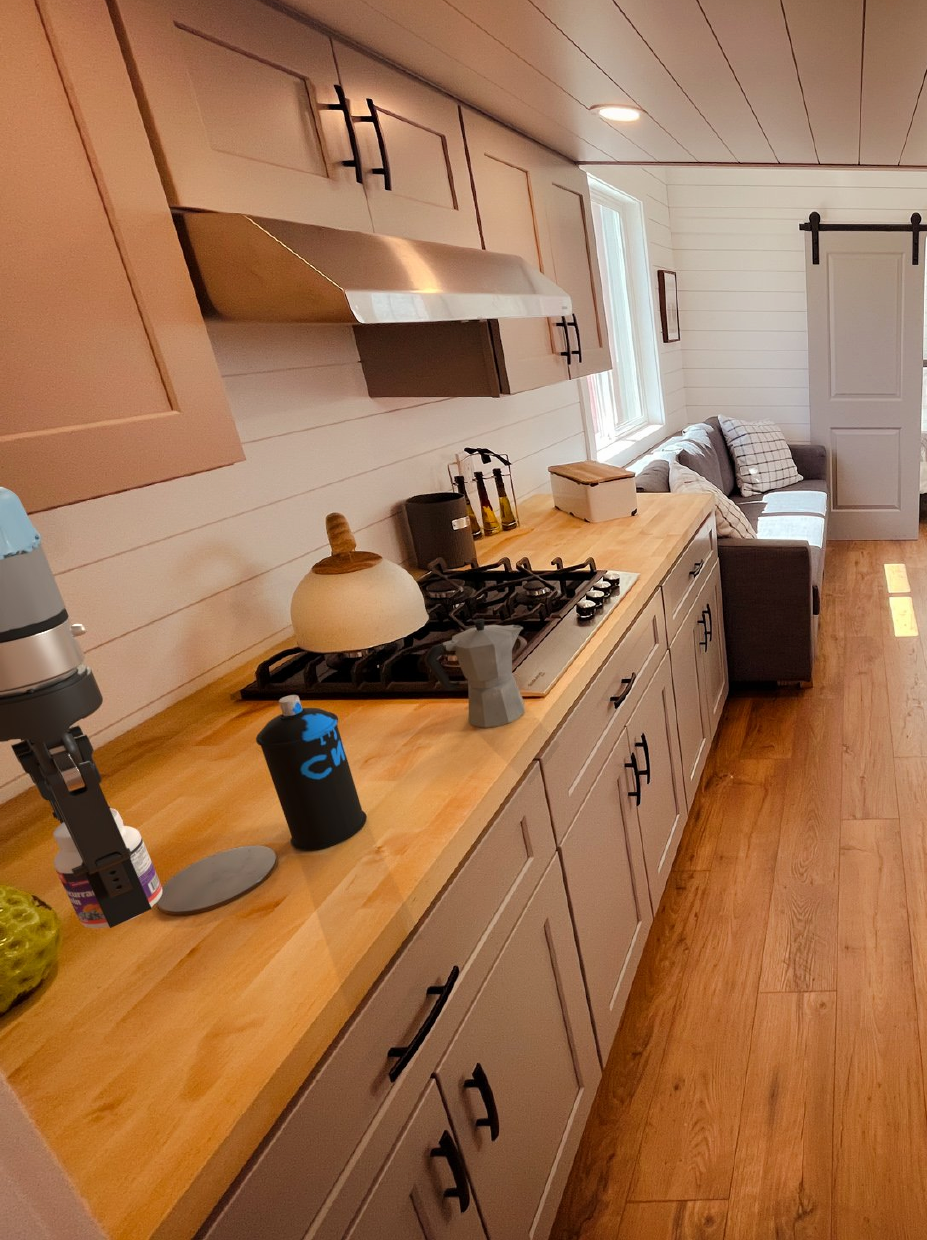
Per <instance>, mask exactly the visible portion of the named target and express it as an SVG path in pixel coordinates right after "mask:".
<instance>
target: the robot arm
mask: <svg viewBox="0 0 927 1240" xmlns="http://www.w3.org/2000/svg"><path fill="white" fill-rule="evenodd" d="M26 511H27V510H25V507H24V505H23V503H22V501H21V499H20V498H19V496H18V495H17V494H16V493H15V492H14V491H12V490H10V489H8V488H6V487H3V486H0V743H3V742H5V743H6V742H9V741H13V740H20V741H19V742H16V743H12V744H10V748H11V749H12V751H13V754H14V756H15V757H16V759H17V761H18V763H19V764H20V765H21V768H22V771H24V772H25V773H26V774H28V775H29V777H30V779H31V782H32V783H33V784H35V786H36V788H37V790H38V792H39V794H40V796H41V798H42V799H43V800H45V801H48V802H49V804H50V807H51V808H52V813H51V815H52V816H53V818H54V819H56V820H57V821H59V824H62V823H63V822H64V823H65V825H66V827H67V829H68V831H69V834H70V836H71V838H72V840H73V842H74V844H75V846H76V848H77V850H78V853H79V855H80V857H81V859H82V861H83V862H82V863H81V865H80V866H78V867H75V868H73V869H71V870H72V872H73V874H74V876H75V877H76V876H78V875H81V874H83V873H85V875H86V877H87V879H88V882H89V884H90V886H91V888H92V890H93V892H94V895H95V897H96V899H97V901H98V903H99V905H100V908H101V910H102V912H103V914H104V916H105V919H106V921H107V923H108V925H109V927H108V928H110V929H112V928H114V927H116V926H118V924H119V925H122V924H124V923H126V922H125V921H127V920H129V919H131V918H133V917H135V918H137V917H139V916H141V915H142V914H144V913H147V912H149V911H151V910H152V909H153V907H151V906H150V903H149V901H148V899H147V896H146V894H145V892H144V889H143V887H142V885H141V882H140V880H139V878H138V875H137V873H136V871H135V868H134V866H133V864H132V861H131V859H130V858H131V857H130V856H131V854H130V853H131V851H130V849H129V848H127V847H126V845H125V843H124V840H123V838H122V836H121V833H120V831H119V829H118V826H117V824H116V822H115V820H114V817H113V815H112V813H111V810H110V808H111V806H109V804H108V801H107V798H106V796H105V794H104V791H103V789H102V787H101V785H100V784H101V782H102V780H103V778H102V774H101V773H100V771H99V768H98V766H97V764H96V762H95V760H94V758H93V753H94V747H93V745H92V743H91V741H90V739H89V736H88V734H87V733H85V734H84V732H83V730H82V728H81V726H80V725H79V724H76V723H77V722H79V721H81V720H84V719H86V718H88V717H89V716H91V715H93V714H94V713H95V712H97V711H98V710H99V709H100V707H101V706H102V705H103V701H104V698H103V695H102V692H101V690H100V688H99V685H98V682H97V679H96V678H95V675H94V673H93V670H92V668H91V667H90V666H89V665H87V664H84V663H83V662H84V661H85V659H86V656H85V653H84V651H83V648H82V645H81V643H80V642H79V640H78V639H76V637H80V636H83V635H85V634H86V633H87V629H86V627H85V626H84V625H83V624H81V623H76V624H73V625H72V621H71V619H70V617H69V613H68V611H67V609H66V605H65V602H64V599H63V597H62V593H61V592H60V589H59V587H58V584H57V581H56V578H55V577H54V574H53V571H52V569H51V565H50V563H49V561H48V558H47V555H46V553H45V550H44V546H43V545H42V536H41V534H40V532H39V531H37V528H36V527H35V526H34V525H33V523H32V521H31V520H30V517H29V515H28V514H27V512H26ZM140 914H141V915H140ZM138 915H139V916H138ZM136 916H137V917H136ZM129 921H130V920H129ZM123 922H124V923H123ZM127 922H128V921H127ZM121 923H122V924H121Z"/></svg>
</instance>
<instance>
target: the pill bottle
mask: <svg viewBox="0 0 927 1240" xmlns="http://www.w3.org/2000/svg"><path fill="white" fill-rule="evenodd" d="M110 810H111V813H112V815H113V817H114V820H115V822H116V824H117V826H118V829H119V831H120V833H121V836H122V838H123V840H124V843H125V845H126V847H127V848H129V849H130V851H131V853H130V854H131V856H130V857H131V858H130V859H131V861H132V864H133V866H134V868H135V871H136V873H137V875H138V878H139V880H140V882H141V885H142V887H143V889H144V892H145V894H146V896H147V899H148V901H149V903H150V906H151V908H153V906H155V905H157V903H156V902H157V901H158V900H159V899H160V897H161V895H162V887H163V886H162V882H161V881H160V878H159V876H158V874H157V872H156V869H155V866H154V864H153V861H152V859H151V857H150V854H149V851H148V850H147V847H146V844H145V842H144V839H143V837H142V835H141V833H140V831H139V830H138V829H137V828H135V827H133V826H129V825H124V821H123V819H122V817H121V814H120V813H119V811H118V810H117V809H115V808H111V807H110ZM52 836H53V838H54V840H55V843H56V845H57V847H58V848H59V850H58V851H57V853H56V855H55V856H54V860H53V867H54V870H55V871H56V873H57V876H58V878H59V880H60V882H61V884H62V886H63V888H64V890H65V892H66V895H67V897H68V899H69V901H70V904H71V906H72V907H73V910H74V912H75V914H76V917H77V918H78V920H79V922H80V923H81V925H82V926H84V927H85V928H88V929H94V930H95V929H96V930H97V929H98V930H99V929H107V928H110V927H109V925H108V923H107V921H106V919H105V916H104V914H103V912H102V910H101V908H100V905H99V903H98V901H97V899H96V897H95V895H94V892H93V890H92V888H91V886H90V884H89V882H88V879H87V877H86V875H85V873H83V874H81V875H78V876H76V877H75V876H74V874H73V872H72V870H71V869H73V868H75V867H78V866H80V865H81V863H82V862H83V861H82V859H81V857H80V855H79V853H78V850H77V848H76V846H75V844H74V842H73V840H72V838H71V836H70V834H69V831H68V829H67V827H66V825H65V823H64V822H63V823H62V824H61V823H59V825H58V826H57V827H55V829H54V830H53V832H52ZM141 915H142V914H140V915H138V916H136V917H133V918H131V919H129V920H127V921H125V922H123V923H121V924H118V925H122V924H124V923H126V922H130V921H132V920H134V919H136V918H137V917H139V916H141ZM118 925H117V926H118Z"/></svg>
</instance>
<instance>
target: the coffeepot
mask: <svg viewBox="0 0 927 1240" xmlns="http://www.w3.org/2000/svg"><path fill="white" fill-rule="evenodd" d="M473 624H474V626H475V627H470V628H468V629H466V630H464V631H461V632H459V633H456V634H454V635H453V636H452V639H451V640H447V641H444V642H442V643H439V644H436V645H433V646H432V647H431V648H430V649H429V651H428V652H427V654H426V655H425V657H424V663H425V665H426V667H428V669H429V670H430V671H431V673H432V674H433V675H434V677H436V680H437V681H438V682H439V683H440V685H441V686H442V687H443V689H444V690H446V691H452V690H455V689H457V688H459V687H460V685H461V683H460V681H456V682H451V681H450V677H449V675H448V673H446V672H445V671H444V669H443V666H442V663H441V662H440V661H439V659H438V658H439V657H440V656H444V655H451V654H455V656H456V657H455V658H456V659H457V661H458V665H459V667H460V669H461V672H462V674H463V676H464V678H465V679H467V681H468V682H467V683H468V685H467V687H468V692H467V693H468V724H469V725H472V726H474V727H477V728H484V729H488V728H497V727H501V726H505V725H507V724H510V723H512V722H514V721H516V720H518V719H519V718H521V717H522V716H523V714H525V713H526V705H525V701H524V697H523V696H522V694H521V691H520V689H519V686H518V683H517V681H516V679H515V677H514V675H513V671H512V670H513V648H514V646H515V643H516V641H517V639H518V636H519V634H520V632H521V631H522V630H524V627H523V626H521V625H520V624H516V625H515V624H510V625H498V624H489V625H485V619H484V618H477V619H475V620H473Z"/></svg>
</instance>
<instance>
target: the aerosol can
mask: <svg viewBox="0 0 927 1240" xmlns="http://www.w3.org/2000/svg"><path fill="white" fill-rule="evenodd" d="M278 704H279V707H280V710H281V714H279V715H277V716H275V717H273V718H272V719H270V720H269V721H268V722H267V723H266V724H265V725H264V726H263V728H262V729H261V730H260V731H259V732H258V733H257V735H256V736H255V737H256V738H255V743H257V744H258V746H260V748H261V750H262V751H261V752H262V754H263V757H264V759H265V763H266V765H267V768H268V772H269V775H270V777H271V780H272V783H273V787H274V789H275V792H276V795H277V798H278V800H279V804H280V806H281V810H282V812H283V815H284V818H285V821H286V825H287V826H288V830H289V833H290V836H291V837H290V844H291V846H292V847H293V848H294V849H296V850H300V851H318V850H324V849H326V848H327V849H328V848H331V847H333V846H336V845H339V844H341V843H343V842H345V841H347V840H348V839H350V838H352V837H353V836H354V835H356V834H358V833H359V831H361V829H362V828H363V827H364V826H365V824H366V822H367V818H368V817H367V814H366V812H365V811H363V809H362V805H361V801H360V798H359V794H358V791H357V788H356V784H355V781H354V778H353V775H352V774H353V773H352V770H351V767H350V764H349V761H348V757H347V754H346V751H345V746H344V743H343V740H342V737H341V734H340V730H339V727H338V722H339V717H338V715H337V714H336V713H334V712H331V711H327V710H326V709H325V710H324V709H321V708H319V707H302V703H301V700H300V697H299V695H297V694H290V695H287V696H283V697H281V698H280V699H279V700H278Z"/></svg>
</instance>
